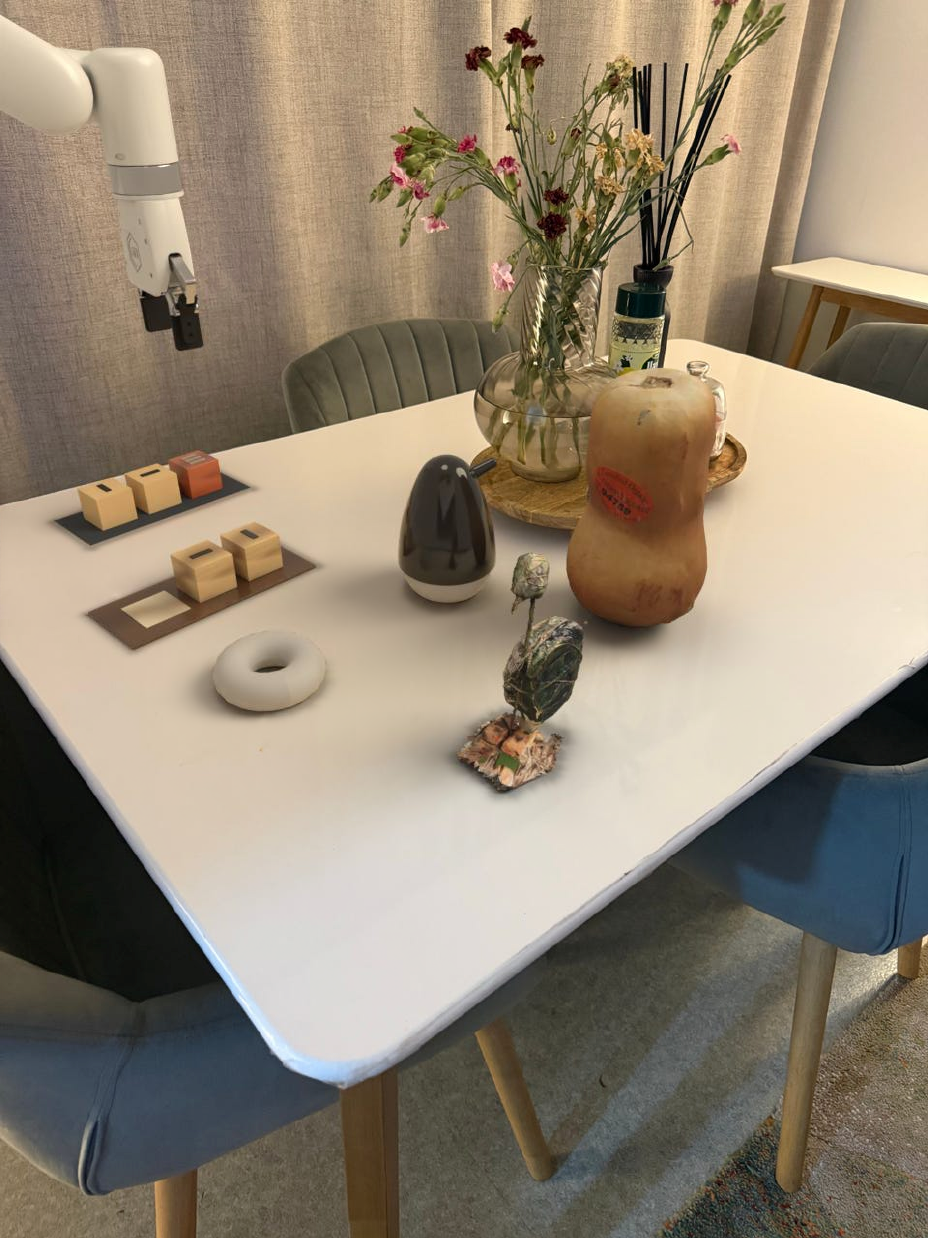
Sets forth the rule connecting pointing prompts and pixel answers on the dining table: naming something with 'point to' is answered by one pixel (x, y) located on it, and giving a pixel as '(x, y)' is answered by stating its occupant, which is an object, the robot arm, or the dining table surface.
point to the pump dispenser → (447, 531)
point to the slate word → (135, 503)
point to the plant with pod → (529, 688)
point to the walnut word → (203, 584)
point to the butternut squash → (644, 499)
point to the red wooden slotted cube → (196, 473)
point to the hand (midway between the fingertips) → (174, 339)
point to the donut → (271, 688)
